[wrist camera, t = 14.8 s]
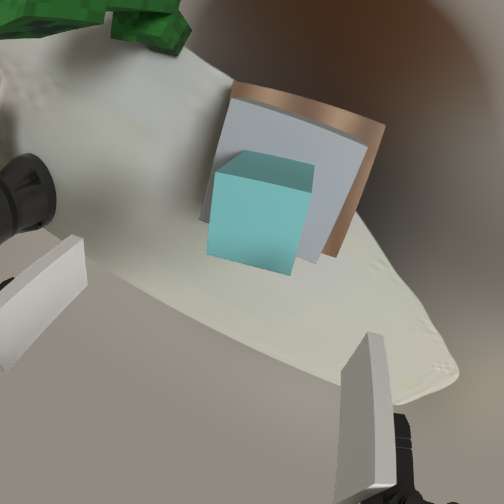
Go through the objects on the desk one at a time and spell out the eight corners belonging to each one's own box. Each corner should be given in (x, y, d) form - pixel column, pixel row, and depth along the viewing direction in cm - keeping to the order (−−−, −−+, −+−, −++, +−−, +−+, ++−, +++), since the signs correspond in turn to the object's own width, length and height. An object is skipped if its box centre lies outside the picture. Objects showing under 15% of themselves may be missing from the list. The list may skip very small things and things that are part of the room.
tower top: (217, 199, 35) (198, 219, 30) (247, 97, 29) (231, 98, 24) (317, 237, 34) (315, 263, 29) (359, 138, 28) (368, 147, 23)
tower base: (220, 200, 41) (205, 216, 36) (247, 83, 33) (233, 80, 28) (335, 235, 40) (336, 257, 35) (375, 121, 32) (385, 125, 27)
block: (235, 212, 28) (206, 254, 22) (245, 149, 25) (215, 171, 19) (299, 228, 28) (290, 275, 21) (314, 165, 25) (311, 193, 18)
